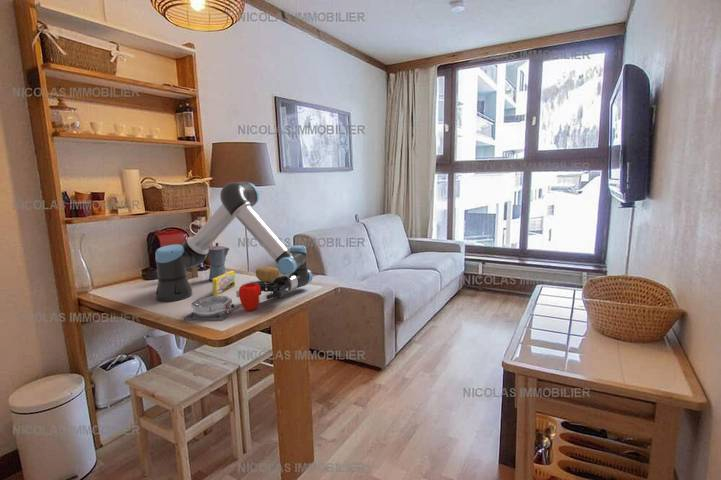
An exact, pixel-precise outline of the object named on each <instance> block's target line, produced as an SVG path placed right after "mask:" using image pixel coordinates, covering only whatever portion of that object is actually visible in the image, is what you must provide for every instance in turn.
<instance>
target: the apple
mask: <svg viewBox="0 0 721 480" xmlns="http://www.w3.org/2000/svg"><path fill="white" fill-rule="evenodd" d="M238 290H239V297H238V298H239V300H240V304H241V306H242V307H243V309H244V311H250V312H251V311H254V310H255V309H257V308H258V307H259V304H260V302H259V296H260V295H262V291H261V287H260V286H259V283H256V282H249V283H245V284H242V285H241V286H239V289H238Z"/></svg>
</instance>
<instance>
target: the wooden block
mask: <svg viewBox="0 0 721 480" xmlns="http://www.w3.org/2000/svg"><path fill="white" fill-rule="evenodd" d="M198 277H199V271H198V266H195V267H192V268H189V269H187V271H186V278H187V280H190V279H195V278H198Z"/></svg>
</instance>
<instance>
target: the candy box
mask: <svg viewBox="0 0 721 480" xmlns="http://www.w3.org/2000/svg"><path fill="white" fill-rule="evenodd" d="M235 275H236V274H235V271H234V270H230V271H228V272H226V273H225V274H223V275H221V276H218V277H216V278H213V279H212V281H211V282H212V296H221V294H223V293H225V292H227V291H229V290H231V289H233V288H235V287H236V276H235Z"/></svg>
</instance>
